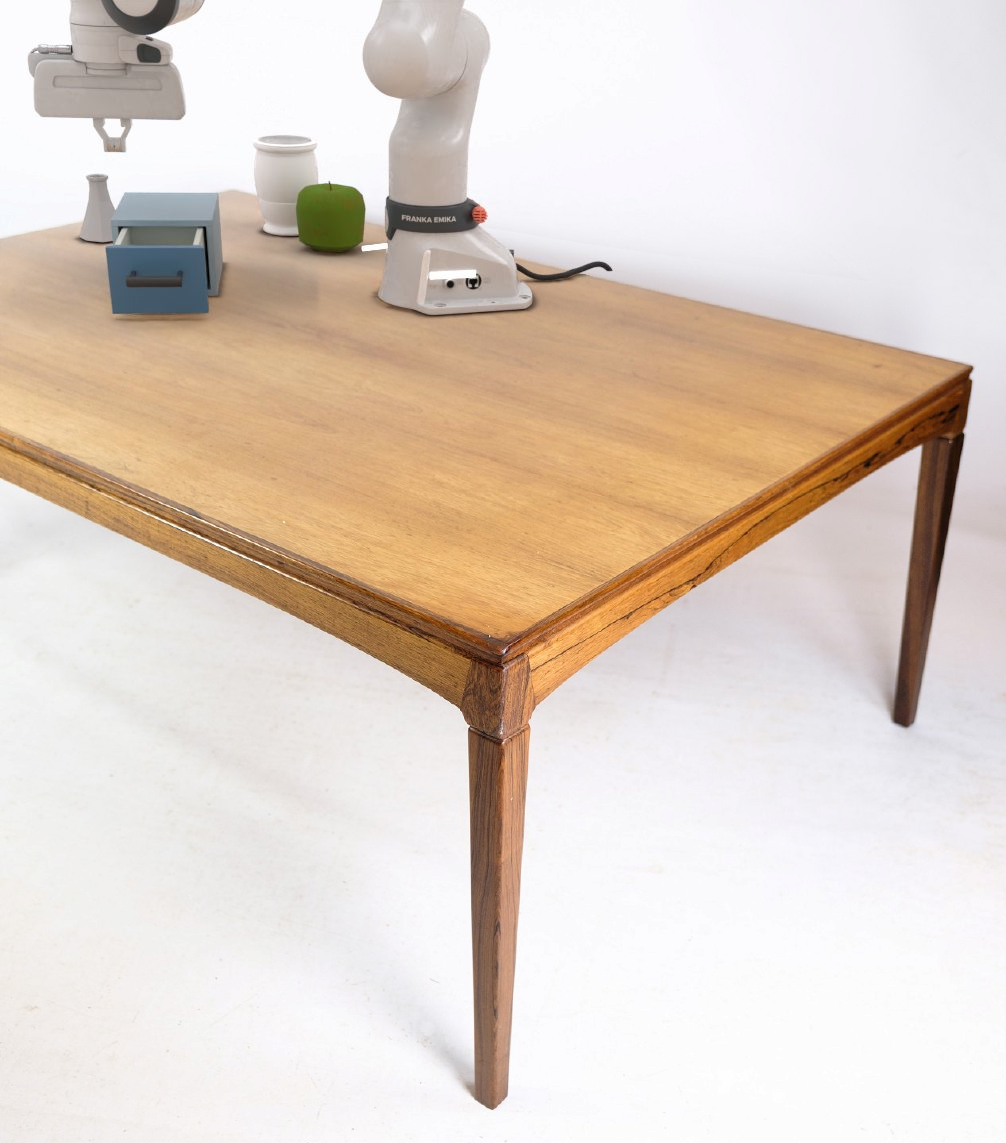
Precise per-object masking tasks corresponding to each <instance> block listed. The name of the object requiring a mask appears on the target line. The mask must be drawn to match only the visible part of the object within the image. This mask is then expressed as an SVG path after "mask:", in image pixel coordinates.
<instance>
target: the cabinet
mask: <svg viewBox="0 0 1006 1143" xmlns="http://www.w3.org/2000/svg"><path fill="white" fill-rule="evenodd" d="M123 226H205V231H206V245H207V259H208V273H209V279H208V284H207V291H208V297H218V294H219V290H220V283H221V276H222V272H223V265H224V258H223V242H222V228H221V212H220V200H219V192H143V191H142V192H138V191H137V192H136V191H135V192H133V191H132V192H128V191H127V192H124V193H123V194H122V197H121V199H120V200H119V203H118V205H117V207H116V208H115V212H114V214H113V216H112V218H111V230H112V239H113V241H112V246H114V245H115V243H116V240H117V238H118V236H119V234H120V232H121V230H122V228H123Z"/></svg>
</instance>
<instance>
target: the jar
mask: <svg viewBox="0 0 1006 1143" xmlns="http://www.w3.org/2000/svg"><path fill="white" fill-rule="evenodd" d="M252 146H253V147H254V148H255V149H256V153H255V156H254V166H253V177H254V178H253V179H254V186H255V191H256V195H257V201H258V206H259V209H260V213H261V214H262V216H263V218H264V220H265V222H264V224H263V226H262V230H263V231H264V232H266V233H267V234H269V235H275V236H281V237H282V236H283V237H295V236H299V234H298V226H297V216H296V204H297V199H298V193H299V192H300V191H301V190H302V189H303V188H304V187H305V186H309V185H315V184H319V168H318V162H317V157H316V154H315V150H316V149H317V148H318V140H317V139H315V138H313V137H312V138H311V137H307V136H302V135H301V136H300V135H299V136H298V135H290V134H287V135H286V134H279V135H277V134H276V135H275V134H274V135H264V136H260V137H255V138H254V139H253V140H252Z"/></svg>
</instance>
